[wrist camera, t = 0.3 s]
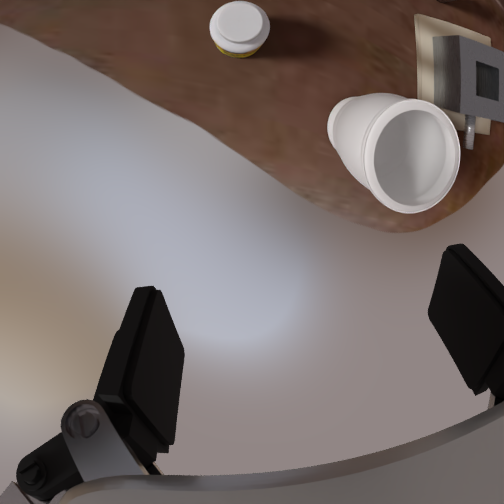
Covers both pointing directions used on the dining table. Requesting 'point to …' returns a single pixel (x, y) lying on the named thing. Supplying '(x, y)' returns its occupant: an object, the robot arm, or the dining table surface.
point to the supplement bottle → (239, 28)
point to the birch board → (425, 64)
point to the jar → (397, 148)
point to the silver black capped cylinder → (444, 1)
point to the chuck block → (468, 80)
